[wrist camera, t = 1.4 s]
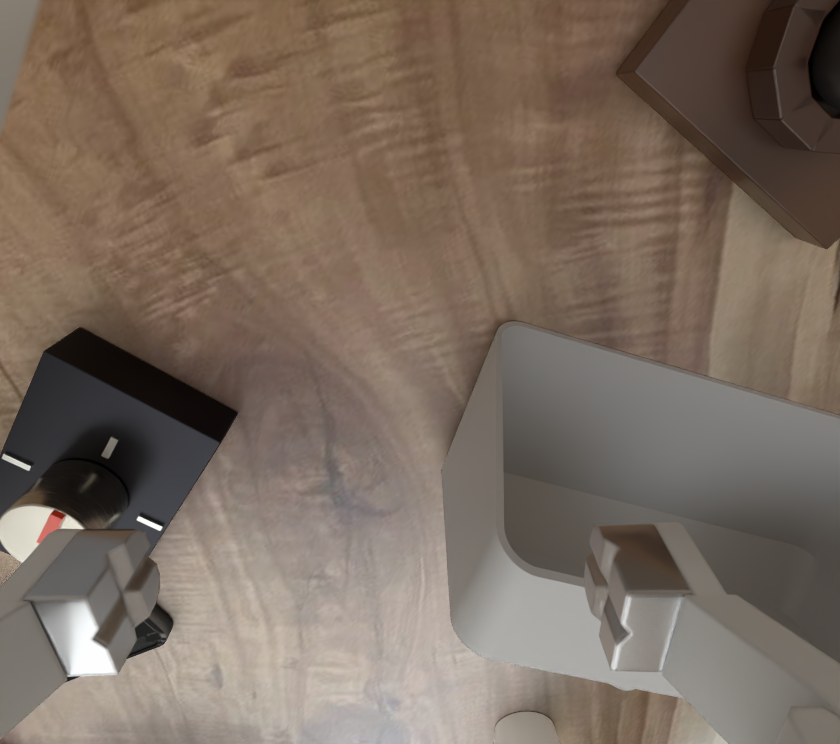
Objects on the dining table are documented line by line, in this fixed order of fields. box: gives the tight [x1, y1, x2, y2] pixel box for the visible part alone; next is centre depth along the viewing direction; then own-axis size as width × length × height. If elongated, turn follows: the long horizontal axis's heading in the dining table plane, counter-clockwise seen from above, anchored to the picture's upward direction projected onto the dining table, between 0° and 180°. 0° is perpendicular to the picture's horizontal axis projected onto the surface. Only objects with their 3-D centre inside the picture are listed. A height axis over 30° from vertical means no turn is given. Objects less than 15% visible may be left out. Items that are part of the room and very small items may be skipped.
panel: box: [0, 327, 238, 556], centre depth 30 cm, size 14×9×3 cm, turn 145°
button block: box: [616, 0, 840, 249], centre depth 20 cm, size 12×10×4 cm
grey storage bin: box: [441, 321, 840, 698], centre depth 27 cm, size 25×16×12 cm, turn 73°
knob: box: [0, 460, 128, 563], centre depth 27 cm, size 4×4×4 cm
